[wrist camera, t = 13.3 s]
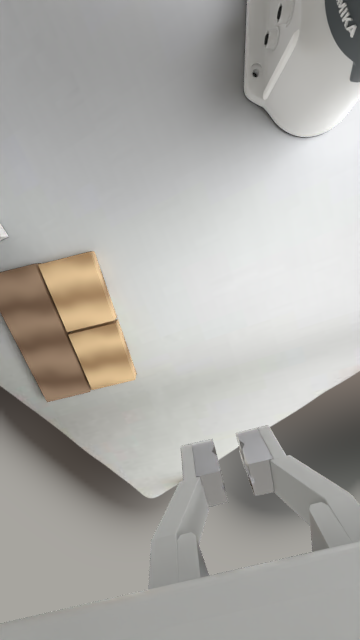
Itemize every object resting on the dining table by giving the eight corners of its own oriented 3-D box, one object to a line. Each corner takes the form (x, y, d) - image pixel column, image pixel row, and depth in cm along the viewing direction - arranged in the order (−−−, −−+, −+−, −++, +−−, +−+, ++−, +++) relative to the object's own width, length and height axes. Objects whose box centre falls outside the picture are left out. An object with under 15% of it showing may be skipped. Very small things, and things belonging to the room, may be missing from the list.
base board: (-8, 275, 35) (-18, 277, 33) (41, 263, 35) (34, 263, 33) (52, 395, 42) (47, 402, 40) (93, 385, 42) (89, 391, 40)
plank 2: (73, 330, 38) (68, 334, 36) (117, 319, 38) (115, 323, 36) (95, 383, 42) (92, 390, 40) (136, 373, 42) (135, 379, 40)
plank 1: (45, 263, 35) (38, 264, 33) (94, 251, 35) (89, 251, 33) (72, 327, 38) (67, 331, 36) (116, 316, 38) (114, 320, 36)
